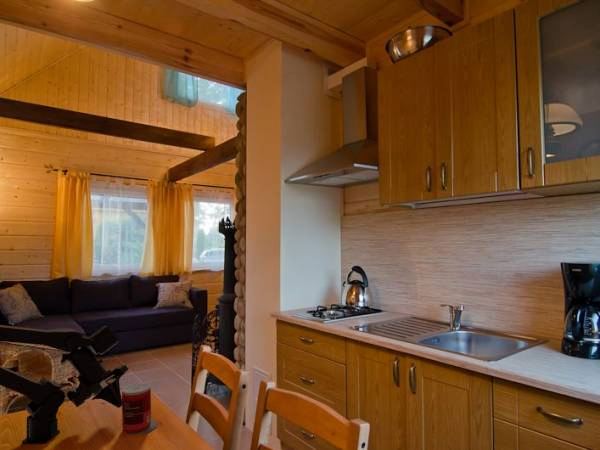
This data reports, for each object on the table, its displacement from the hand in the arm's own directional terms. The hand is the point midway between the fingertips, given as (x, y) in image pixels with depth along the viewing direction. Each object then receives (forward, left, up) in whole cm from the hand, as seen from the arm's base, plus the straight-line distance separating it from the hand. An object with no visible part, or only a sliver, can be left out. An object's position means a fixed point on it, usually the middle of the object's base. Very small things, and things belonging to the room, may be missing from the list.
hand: (120, 406), depth 111 cm
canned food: (+5, -1, -6) cm, 8 cm away
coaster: (+7, 0, -6) cm, 9 cm away
